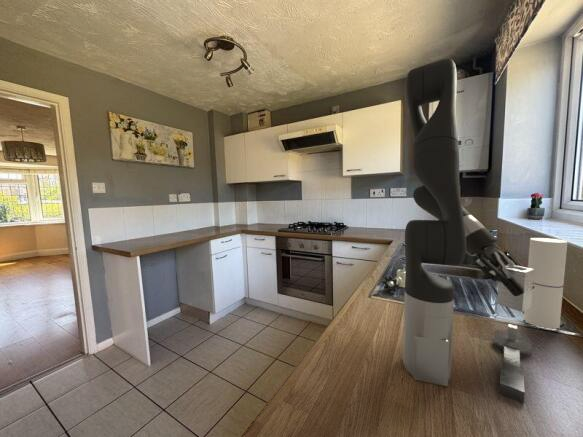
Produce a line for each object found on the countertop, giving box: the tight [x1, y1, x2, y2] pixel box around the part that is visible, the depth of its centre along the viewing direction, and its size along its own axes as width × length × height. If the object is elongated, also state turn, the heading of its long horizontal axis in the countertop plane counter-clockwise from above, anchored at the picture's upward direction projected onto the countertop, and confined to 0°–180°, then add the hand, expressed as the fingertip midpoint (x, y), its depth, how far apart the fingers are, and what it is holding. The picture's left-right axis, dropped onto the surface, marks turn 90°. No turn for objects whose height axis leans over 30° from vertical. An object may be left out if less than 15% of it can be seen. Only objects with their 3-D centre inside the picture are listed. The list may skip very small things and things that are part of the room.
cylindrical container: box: [523, 237, 568, 329], centre depth 68 cm, size 7×7×25 cm
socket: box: [496, 264, 534, 313], centre depth 58 cm, size 5×5×10 cm
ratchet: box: [492, 323, 533, 404], centre depth 53 cm, size 24×7×6 cm, turn 137°
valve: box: [381, 269, 406, 293], centre depth 97 cm, size 7×7×12 cm
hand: (525, 292), depth 56 cm, fingers closed on socket, 4 cm apart
